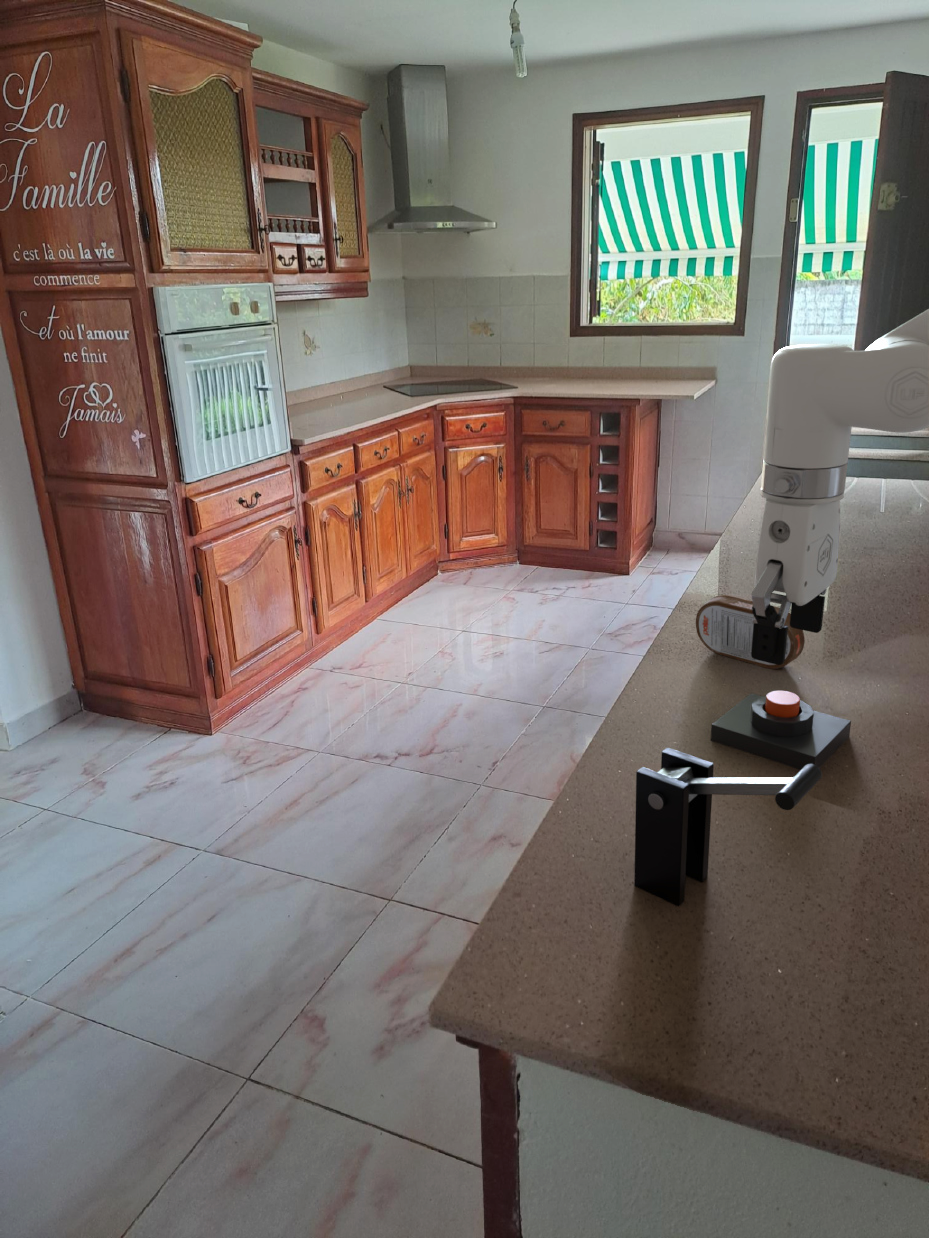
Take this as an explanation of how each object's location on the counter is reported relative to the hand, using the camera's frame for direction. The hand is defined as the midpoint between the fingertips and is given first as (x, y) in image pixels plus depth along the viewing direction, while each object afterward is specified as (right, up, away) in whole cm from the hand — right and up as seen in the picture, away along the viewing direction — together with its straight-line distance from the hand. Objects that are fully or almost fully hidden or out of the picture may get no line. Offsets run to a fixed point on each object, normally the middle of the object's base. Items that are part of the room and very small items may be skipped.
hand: (787, 644), depth 90 cm
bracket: (-15, -22, -13) cm, 29 cm away
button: (+3, -8, +9) cm, 13 cm away
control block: (+3, -11, +11) cm, 16 cm away
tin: (+6, -3, +31) cm, 32 cm away
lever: (-12, -12, -20) cm, 26 cm away
